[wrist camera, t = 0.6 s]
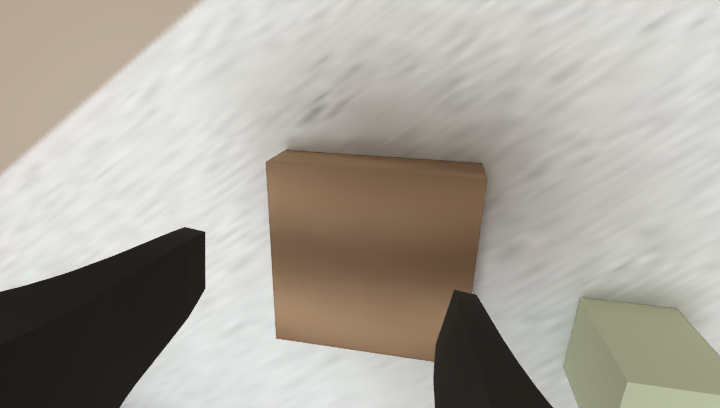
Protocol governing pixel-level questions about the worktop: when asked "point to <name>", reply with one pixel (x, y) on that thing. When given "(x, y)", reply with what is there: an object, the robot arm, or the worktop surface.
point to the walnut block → (371, 248)
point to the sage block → (639, 358)
